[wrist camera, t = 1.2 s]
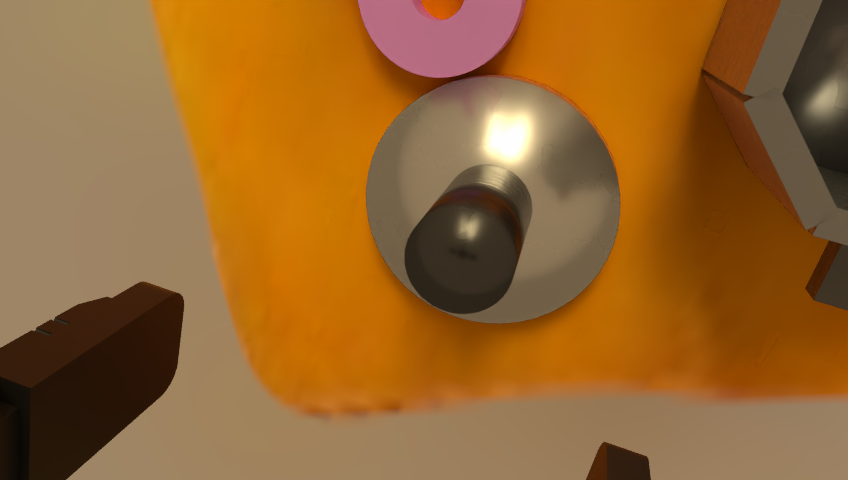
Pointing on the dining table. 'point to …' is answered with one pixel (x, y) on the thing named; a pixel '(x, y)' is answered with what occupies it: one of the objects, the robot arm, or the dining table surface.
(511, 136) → the lid
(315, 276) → the dining table surface
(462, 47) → the bracket
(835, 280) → the pot
